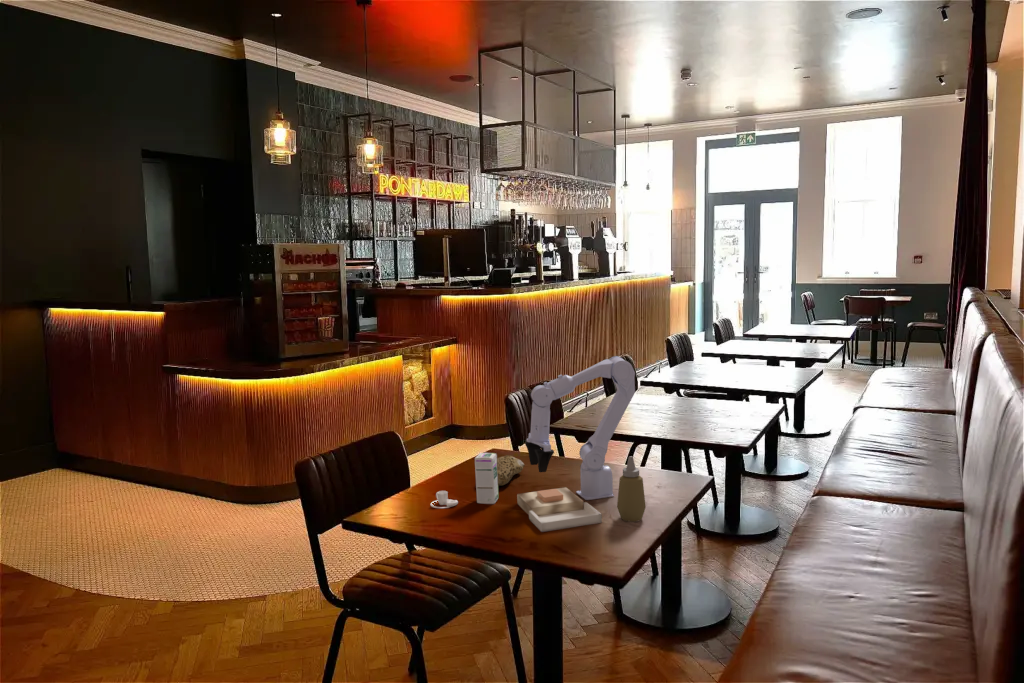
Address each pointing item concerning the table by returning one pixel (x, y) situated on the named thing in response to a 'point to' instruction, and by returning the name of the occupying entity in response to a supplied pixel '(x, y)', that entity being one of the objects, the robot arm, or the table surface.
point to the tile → (550, 495)
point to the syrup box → (486, 478)
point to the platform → (549, 503)
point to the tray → (566, 519)
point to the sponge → (508, 468)
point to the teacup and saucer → (444, 500)
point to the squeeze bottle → (631, 493)
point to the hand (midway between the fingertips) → (538, 468)
